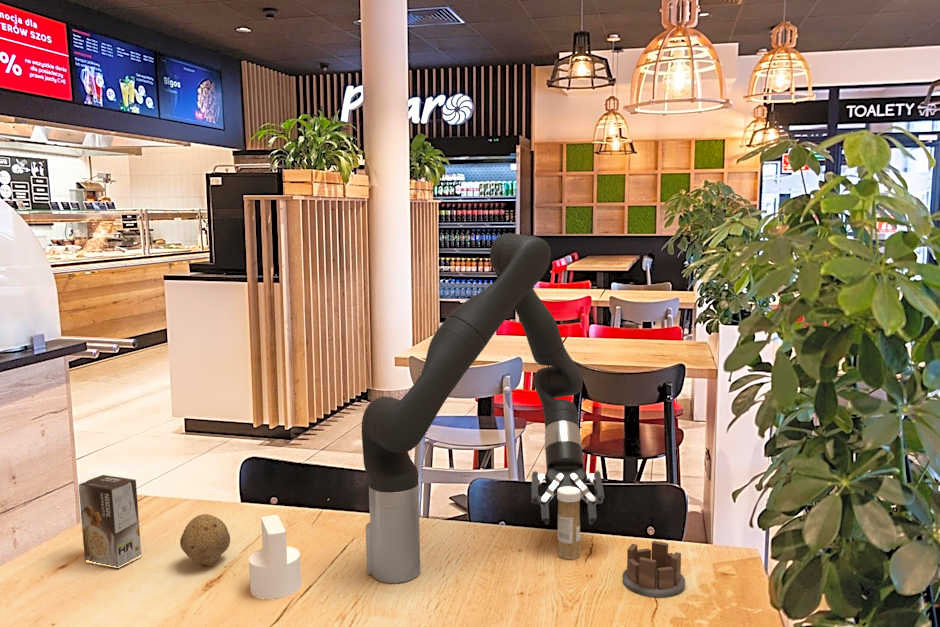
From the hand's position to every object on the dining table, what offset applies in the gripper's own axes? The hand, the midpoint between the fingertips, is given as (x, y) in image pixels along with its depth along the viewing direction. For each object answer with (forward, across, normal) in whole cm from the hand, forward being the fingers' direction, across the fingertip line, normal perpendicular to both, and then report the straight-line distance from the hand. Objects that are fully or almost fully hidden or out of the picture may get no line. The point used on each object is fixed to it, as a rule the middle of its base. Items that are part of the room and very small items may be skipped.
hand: (569, 522), depth 151 cm
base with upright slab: (+13, -54, -3) cm, 56 cm away
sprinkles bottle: (+4, 0, +6) cm, 8 cm away
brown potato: (+6, -71, +4) cm, 71 cm away
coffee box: (+5, -90, +6) cm, 90 cm away
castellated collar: (+13, +14, -2) cm, 19 cm away
